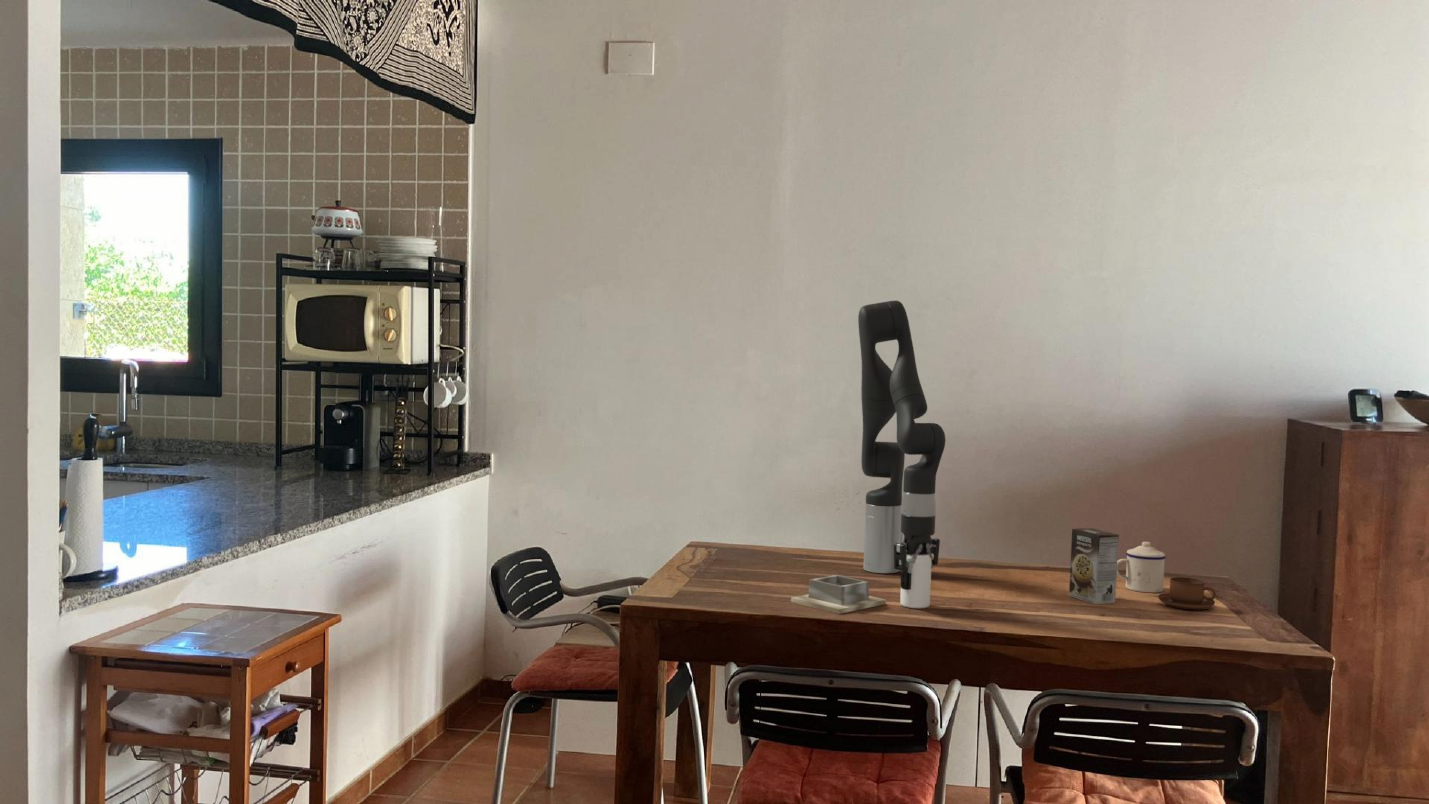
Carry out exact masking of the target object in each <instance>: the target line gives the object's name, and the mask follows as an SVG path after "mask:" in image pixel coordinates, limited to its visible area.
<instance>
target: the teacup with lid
mask: <svg viewBox="0 0 1429 804" xmlns="http://www.w3.org/2000/svg"><path fill="white" fill-rule="evenodd" d="M1125 555H1126V558H1120V559H1118V560H1117V577H1119V578H1120V579H1121V580H1125V588H1126V589H1128V590H1130V591H1133V592H1138V593H1139V592H1140V593H1151V594H1153V593H1154V594H1155V593H1156V594H1157V593H1161V592H1164V580H1165V559H1166V557H1167V556H1166V554H1165V552H1163V551H1160V550H1158V549H1157V548H1156V547H1153V546H1151V542H1150V541H1142V542H1141V545H1138V546H1136V547H1134V548H1130V549H1127V551H1126V553H1125ZM1121 563H1126V569H1125V572H1126V573H1125V575H1122V574H1121V573H1120V572H1119V565H1120V564H1121Z"/></svg>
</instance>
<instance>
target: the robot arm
mask: <svg viewBox="0 0 1429 804" xmlns="http://www.w3.org/2000/svg"><path fill="white" fill-rule="evenodd" d="M857 320H858V322H857V323H858V335H859V344H860V345H859V346H860V359H861V388H860V389H861V410H862V412H861V413H862V437H861V438H862V441H861V469H862V472H863V474H864V475H865V476H866V477H869V478H881V479H882V478H885V479H890V481H889V482H888V483H887V484H886V485H884V486H882V487H880V488H876V489H873V490H869V491H868V492H866V495H865V510H864V511H865V512H864V538H863V541H864V542H863V545H864V546H863V570H864V571H867V572H870V573H876V574H895V573H898V572H900V589H901V588H902V589H905V590H910V589H911V570H912V567H913V564H914V563H915V562H916V559H917V555H922V554H929V553H930V554H929V556H930V558H931V570H932V569H933V568H934V566H937V565H938V564H939V553H940V543H941V540H940V539H939V538H935V537H932V536H933V535H935V533H936V509H937V501H936V500H937V499H936V481H937V479H936V478H937V474H938V470H939V466H940V462H941V460H942V457H943V454H944V450H945V446H946V434H945V431H944V429H943V428H942V426H941V425H940V424H938V423H934V422H916V421H915V420H917V419H920V418H921V417H924V415H925V414H927V411H928V403H927V400H926V396H925V394H924V390H923V387H922V385H921V381H920V378H919V374H918V369H917V363H916V357H915V349H914V344H913V340H912V333H911V327H910V323H909V317H908V314H907V310H906V309H905V306H904V305H903V303H902V302H901V301H899V300H890V301H889V300H888V301H887V300H886V301H881V302H876V303H868V304H866V305H863V306H862V307H860V309H859V312H858V318H857ZM890 341H897V344H898V345H897V346H898V351H897V352H898V353H897V356H896V361H895V363H894V365H893V368H892V369H891V368H890V367H889V365H887V363H886V362H884V360H883V359H882V358H881V356H880V355H879V353H878V352H877V350H876V345H877V344H878V343H884V342H890ZM895 414H896V442H895V441H890V442H889V441H876V440H877V438H878V436H879V434H880V433H881V431H882V429H884V427H885V426H886V425H887V424H888V423H889V422H890V420H892V418H893V417H894V416H895ZM905 454H906V455H908V456H909V455H910V456H914V455H915V456H917V455H918V456H919V455H920V459H919V461H918V462H917V463H915V464H914V463H913V464H910V465H907V466H906V467H905ZM903 536H904V537H903ZM906 554H907V555H913V557H912V558H906ZM906 562H909V564H908V566H907V567H906Z"/></svg>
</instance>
